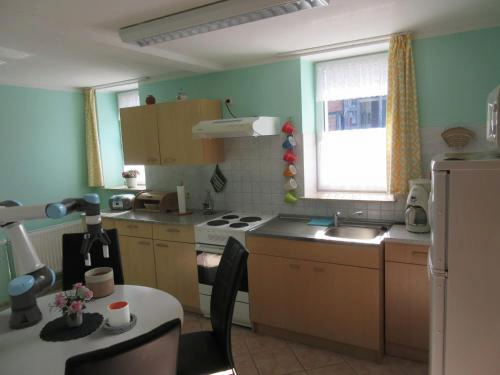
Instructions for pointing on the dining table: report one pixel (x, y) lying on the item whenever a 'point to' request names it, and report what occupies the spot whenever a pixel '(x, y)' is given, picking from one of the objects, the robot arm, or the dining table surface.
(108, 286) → the planter
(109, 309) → the cup
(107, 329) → the ring coaster
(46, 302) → the dining table surface
